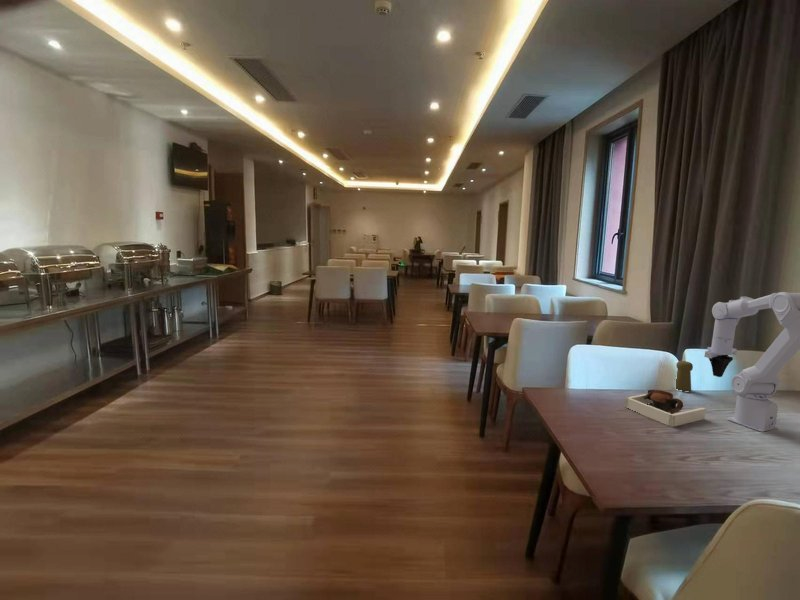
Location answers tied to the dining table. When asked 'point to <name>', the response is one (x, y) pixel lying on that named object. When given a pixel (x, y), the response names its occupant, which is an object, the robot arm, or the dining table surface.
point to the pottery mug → (664, 401)
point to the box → (663, 412)
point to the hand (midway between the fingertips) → (717, 376)
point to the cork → (684, 375)
